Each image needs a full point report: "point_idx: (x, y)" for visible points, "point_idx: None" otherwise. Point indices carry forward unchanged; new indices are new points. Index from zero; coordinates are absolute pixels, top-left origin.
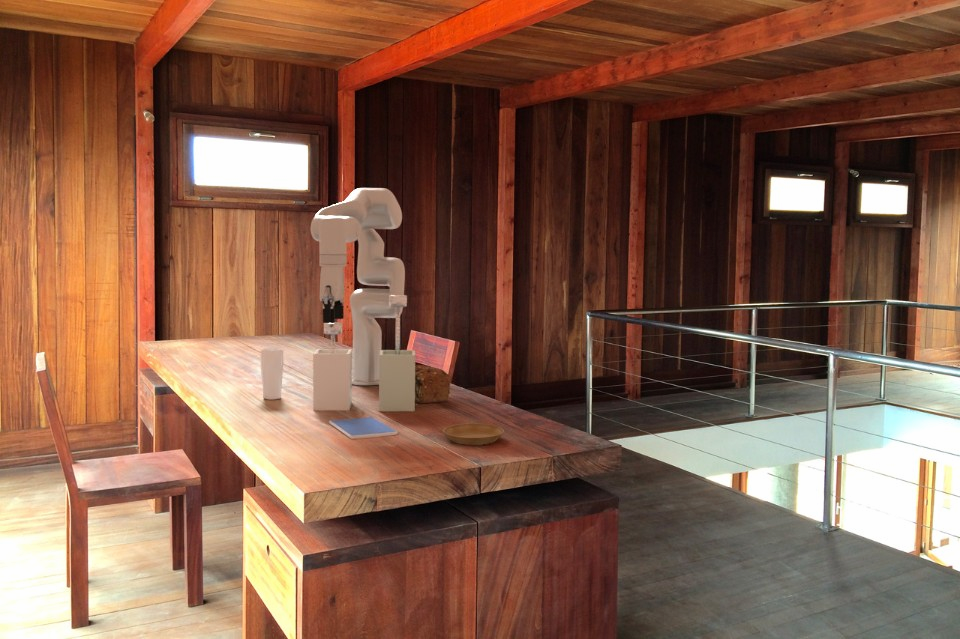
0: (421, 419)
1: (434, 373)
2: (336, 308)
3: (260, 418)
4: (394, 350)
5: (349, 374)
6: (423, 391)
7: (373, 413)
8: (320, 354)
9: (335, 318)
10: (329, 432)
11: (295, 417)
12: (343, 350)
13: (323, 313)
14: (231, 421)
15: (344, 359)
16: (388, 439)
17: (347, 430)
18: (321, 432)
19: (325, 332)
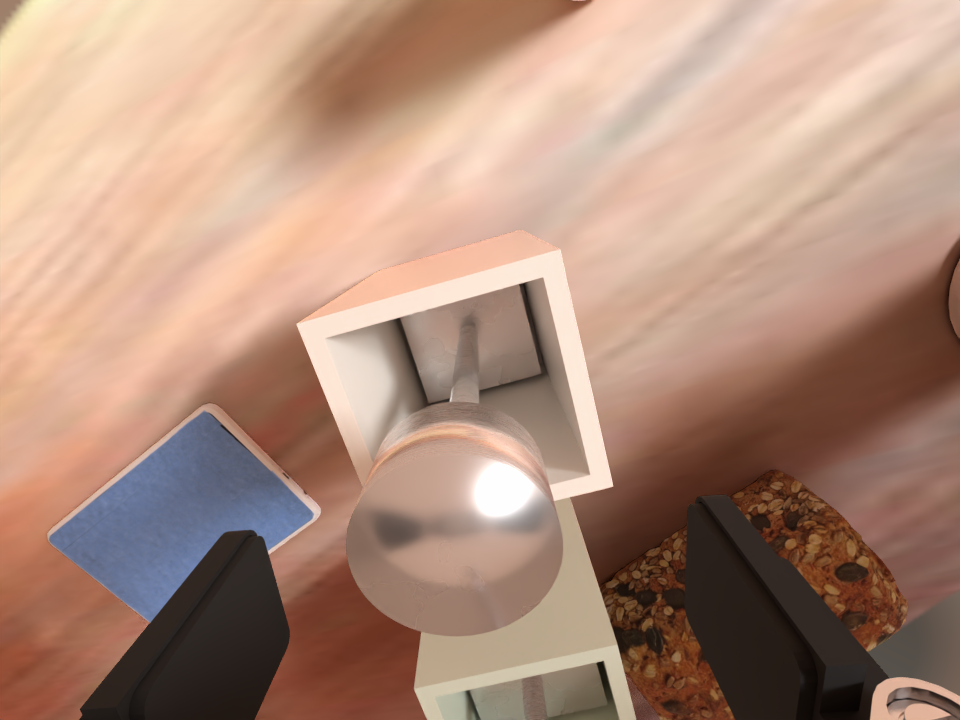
0: (367, 635)
1: (659, 717)
2: (763, 676)
3: (159, 115)
4: (617, 709)
5: None
6: None
7: None
8: (318, 371)
9: (688, 533)
10: (89, 450)
11: (236, 252)
12: (581, 438)
13: (146, 637)
14: (51, 10)
15: None
16: (99, 617)
17: (101, 507)
18: (76, 428)
19: (383, 444)
